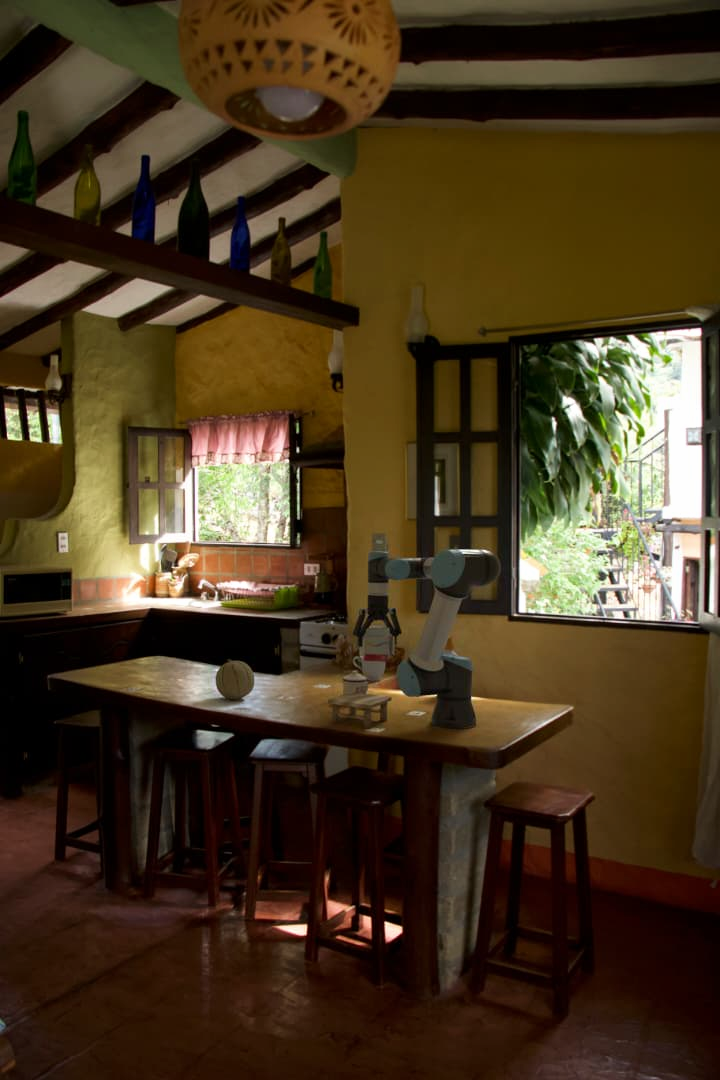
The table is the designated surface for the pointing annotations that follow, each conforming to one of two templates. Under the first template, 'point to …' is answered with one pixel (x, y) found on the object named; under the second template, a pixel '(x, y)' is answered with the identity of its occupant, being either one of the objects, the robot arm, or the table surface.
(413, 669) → the robot arm
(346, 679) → the teacup with lid
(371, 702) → the footstool
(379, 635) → the ink box
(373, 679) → the teacup
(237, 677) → the cantaloupe
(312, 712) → the table surface
